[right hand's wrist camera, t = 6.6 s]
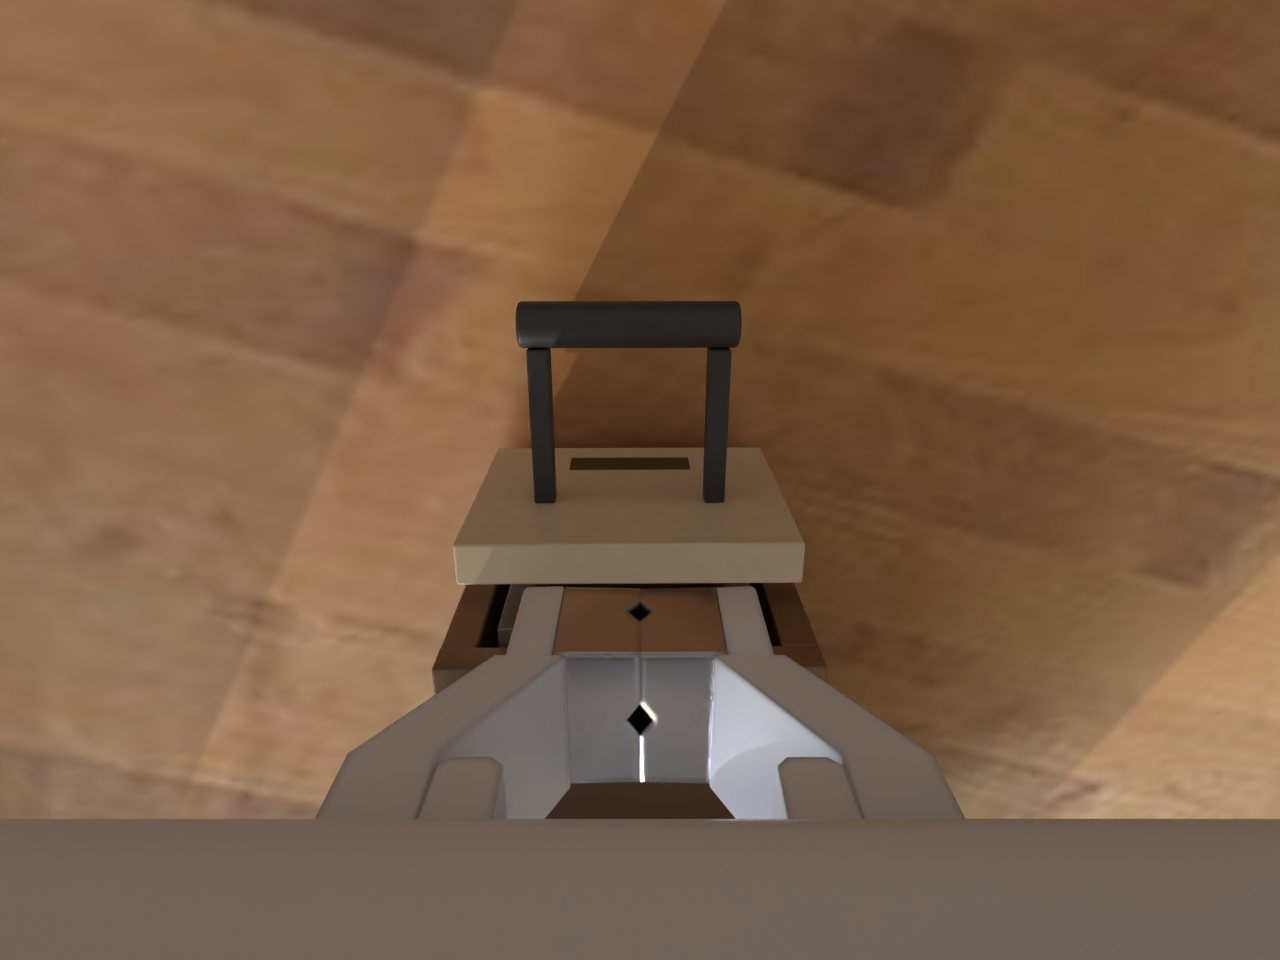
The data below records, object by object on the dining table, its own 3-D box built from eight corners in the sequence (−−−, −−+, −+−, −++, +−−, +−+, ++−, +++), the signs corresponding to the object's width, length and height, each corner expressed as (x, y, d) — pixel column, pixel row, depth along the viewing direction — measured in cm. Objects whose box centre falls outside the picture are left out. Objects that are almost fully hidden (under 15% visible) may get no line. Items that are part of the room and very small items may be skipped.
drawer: (486, 278, 25) (429, 321, 18) (771, 278, 25) (826, 321, 18) (527, 851, 34) (500, 1028, 27) (735, 849, 34) (763, 1025, 27)
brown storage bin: (491, 516, 29) (430, 669, 20) (768, 515, 29) (828, 666, 20) (521, 904, 36) (486, 1140, 28) (741, 902, 37) (777, 1136, 28)
